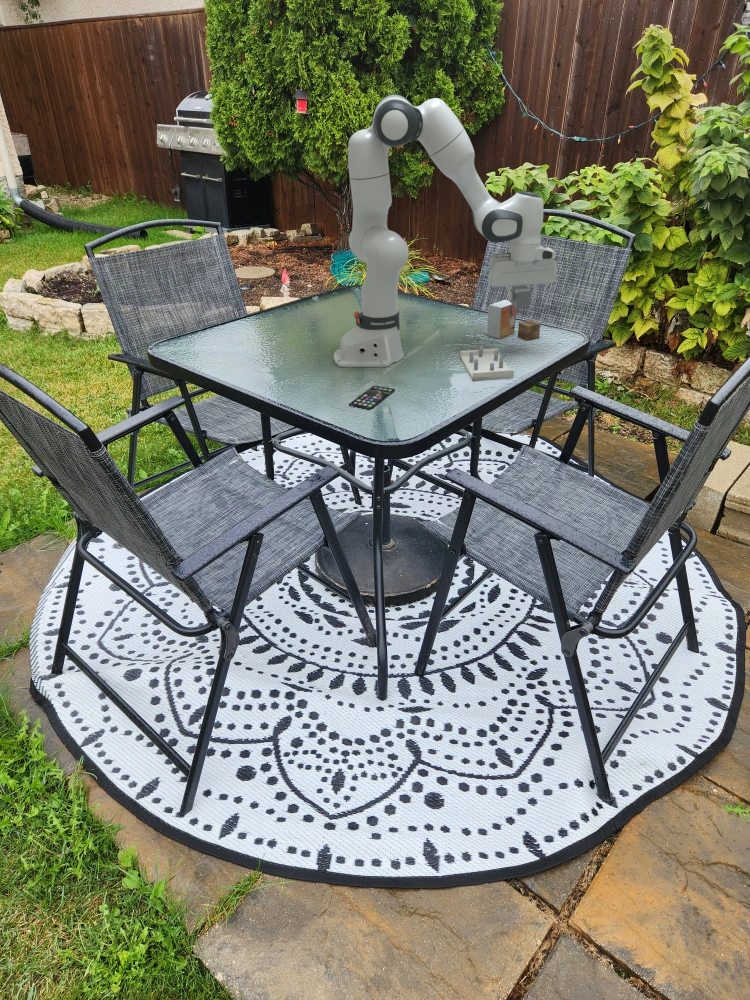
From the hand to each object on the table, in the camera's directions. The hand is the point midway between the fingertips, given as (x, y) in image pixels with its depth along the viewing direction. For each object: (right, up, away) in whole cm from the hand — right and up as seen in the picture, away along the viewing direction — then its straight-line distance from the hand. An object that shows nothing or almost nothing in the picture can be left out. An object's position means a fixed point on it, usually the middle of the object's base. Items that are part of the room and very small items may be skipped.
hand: (520, 299), depth 203 cm
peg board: (-11, -21, -1) cm, 24 cm away
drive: (0, -1, +2) cm, 2 cm away
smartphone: (-45, -33, -15) cm, 58 cm away
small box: (-2, -5, +23) cm, 24 cm away
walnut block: (+7, -7, +20) cm, 22 cm away
